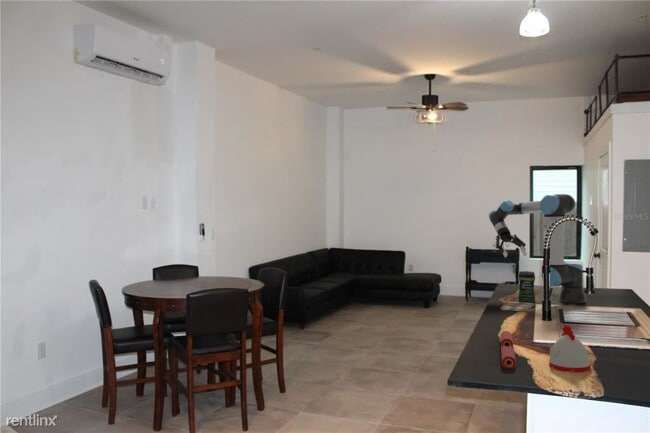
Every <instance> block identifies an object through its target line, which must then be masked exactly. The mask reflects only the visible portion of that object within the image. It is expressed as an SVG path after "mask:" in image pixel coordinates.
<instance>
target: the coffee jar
mask: <svg viewBox="0 0 650 433" xmlns="http://www.w3.org/2000/svg"><path fill="white" fill-rule="evenodd" d="M517 278H518V279H517V280H518V281H519V290H518V291H519V292H518V302H524V303H535V302H536V294H535V292H536V291H535V281H536V274H535V272H534V271H528V270H526V271H525V270H524V271H523V270H522V271H519V272H518V277H517Z"/></svg>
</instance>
